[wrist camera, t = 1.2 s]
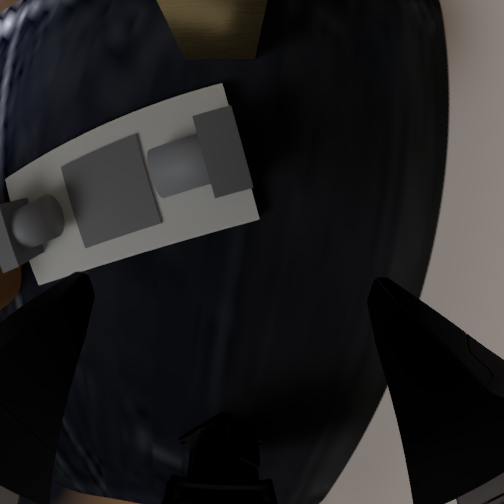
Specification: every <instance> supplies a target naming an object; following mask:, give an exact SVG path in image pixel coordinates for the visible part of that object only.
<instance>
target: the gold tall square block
mask: <svg viewBox="0 0 504 504" xmlns="http://www.w3.org/2000/svg"><path fill="white" fill-rule="evenodd" d="M157 2H158V4H159V6H160V8H161V10H162V12H163V14H164V16H165V18H166V20H167V22H168V24H169V26H170V28H171V30H172V33H173V35H174V37H175V39H176V41H177V43H178V45H179V47H180V49H181V51H182V53H183V56H184V58H185V60H188V59H255V56H256V51H257V46H258V42H259V37H260V32H261V27H262V23H263V18H264V14H265V9H266V5H267V0H157Z"/></svg>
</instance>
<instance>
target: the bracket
mask: <svg viewBox="0 0 504 504" xmlns="http://www.w3.org/2000/svg"><path fill="white" fill-rule="evenodd" d="M20 286H21V266H19V267H17V268H14V269H12V270H10V271H7V272H5V273H3V271H2V269H1V266H0V310H1V309H2V308H3V307H4V306H6V305H7V304H8V303H10V302H11V301H12V300H13V299H15V297H16V296H17V294H18V292H19V290H20Z"/></svg>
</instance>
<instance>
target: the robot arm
mask: <svg viewBox="0 0 504 504" xmlns="http://www.w3.org/2000/svg"><path fill="white" fill-rule="evenodd" d="M94 297H95V295H94V290H93V287H92V284H91V281H90V278H89V275H88V273H86V272H79V271H76V272H74V273H72V274H71V275H69V276H67V277H66V278H64V279H63V280H61V281H60V282H58V283H56V284H55V285H53V286H52V287H50V288H49V289H47V290H46V291H44V292H43V293H41V294H40V295H38V296H37V297H35V298H34V299H32V300H31V301H29V302H28V303H26V304H25V305H23V306H22V307H20V308H19V309H17V310H16V311H15V312H13V313H12V314H10V315H9V316H7V317H6V318H5V319H3V320H2V321H0V504H19V501H20V496H21V497H23V498H26V499H28V500H30V501H32V502H34V503H37V504H49V500H50V490H51V482H52V474H53V468H54V461H55V455H56V449H57V443H58V438H59V433H60V428H61V423H62V419H63V415H64V410H65V406H66V402H67V398H68V394H69V390H70V387H71V383H72V379H73V376H74V372H75V369H76V366H77V362H78V359H79V356H80V353H81V349H82V346H83V343H84V340H85V336H86V332H87V327H88V323H89V319H90V315H91V311H92V307H93V303H94ZM367 303H368V309H369V313H370V318H371V323H372V328H373V333H374V338H375V342H376V346H377V350H378V353H379V356H380V360H381V363H382V367H383V370H384V373H385V377H386V380H387V384H388V388H389V391H390V395H391V398H392V402H393V406H394V410H395V414H396V418H397V422H398V426H399V431H400V435H401V440H402V444H403V449H404V454H405V458H406V465H407V470H408V474H409V481H410V486H411V492H412V499H413V504H445V503H447V502H449V501H451V500H454V499H456V500H457V504H504V360H503V359H502V358H500V357H499V356H497V355H496V354H494V353H493V352H492V351H490V350H489V349H487V348H486V347H484V346H483V345H482V344H480V343H479V342H477V341H476V340H475V339H473V338H472V337H471V336H469V335H468V334H466V333H465V332H464V331H462V330H461V329H460V328H459V327H457V326H456V325H455V324H453V323H452V322H450V321H449V320H448V319H446V318H445V317H443V316H442V315H441V314H439V313H438V312H436V311H435V310H434V309H432V308H431V307H429V306H428V305H427V304H425V303H424V302H422V301H421V300H419V299H418V298H417V297H415V296H414V295H412V294H411V293H409V292H408V291H406V290H405V289H404V288H402V287H401V286H399V285H398V284H396V283H395V282H393V281H392V280H390V279H389V278H386V277H384V278H376V279H375V280H374V282H373V284H372V287H371V290H370V293H369V296H368V301H367ZM179 444H181V445H183V446H184V447H186V448H188V449H190V456H189V465H188V475H187V477H181V476H178V475H172V476H171V479H170V481H168V482H167V484H166V490H165V496H164V499H163V501H162V503H161V504H278V503H277V499H276V495H275V491H274V487H273V483H272V479H265V480H259V477H258V469H259V468H260V456H259V448H261V447H263V446H264V445H265V444H266V443H265V440H264V439H263V438H261V437H259V436H257V435H256V434H254V433H252V432H250V431H249V430H247V429H245V428H243V427H242V426H240V425H238V424H237V423H235V422H233V421H232V420H230V419H228V418H227V417H225V416H223V415H217V416H215V417H214V418H212V419H210V420H209V421H207V422H206V423H204V424H202V425H201V426H199V427H197V428H196V429H194V430H192V431H191V432H189V433H187V434H185V435H184V436H182V437H180V438H179Z"/></svg>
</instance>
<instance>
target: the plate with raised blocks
mask: <svg viewBox="0 0 504 504" xmlns="http://www.w3.org/2000/svg"><path fill="white" fill-rule="evenodd" d="M5 181H6V185H7V190H8V194H9V198H10V202H7V203H3V204H0V266H1V269H2V271H3V273H5V272H7V271H10V270H12V269H14V268H17V267H19V266H21V265H23V264H24V263H26V262H28V261H29V262H30V265H31V267H32V270H33V272H34V275H35V277H36V280H37V282H38V285H42V284H45V283H48V282H51V281H54V280H57V279H60V278H63V277H66V276H69V275H71V274H72V273H74V272H76V271H79V272H81V271H85V270H88V269H91V268H94V267H97V266H100V265H104V264H107V263H110V262H113V261H117V260H120V259H123V258H126V257H130V256H133V255H136V254H140V253H143V252H146V251H150V250H153V249H156V248H160V247H163V246H166V245H170V244H173V243H177V242H180V241H184V240H187V239H191V238H194V237H198V236H201V235H205V234H208V233H212V232H215V231H219V230H223V229H226V228H230V227H233V226H237V225H241V224H244V223H248V222H252V221H255V220H259V215H258V212H257V208H256V204H255V200H254V197H253V193H252V189H251V188H253V184H252V180H251V176H250V173H249V169H248V165H247V161H246V158H245V154H244V150H243V147H242V143H241V139H240V136H239V132H238V129H237V125H236V121H235V118H234V114H233V111H232V107H231V105H230V106H229V105H228V102H227V98H226V94H225V91H224V87H223V84H222V83H221V84H217V85H213V86H209V87H206V88H202V89H199V90H196V91H192V92H189V93H186V94H183V95H179V96H176V97H173V98H170V99H167V100H164V101H162V102H159V103H156V104H153V105H150V106H148V107H145V108H142V109H140V110H137V111H135V112H132V113H130V114H127V115H125V116H122V117H120V118H118V119H115V120H113V121H111V122H108V123H106V124H104V125H102V126H99V127H97V128H95V129H93V130H91V131H89V132H87V133H85V134H83V135H81V136H79V137H77V138H75V139H73V140H71V141H69V142H67V143H65V144H63V145H61V146H59V147H57V148H56V149H54V150H52V151H50V152H48V153H47V154H45V155H43V156H41V157H40V158H38V159H36V160H35V161H33V162H31V163H30V164H28V165H26V166H25V167H23V168H22V169H20V170H18V171H17V172H15V173H14V174H12V175H11V176H9V177H8V178H6V179H5Z"/></svg>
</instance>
